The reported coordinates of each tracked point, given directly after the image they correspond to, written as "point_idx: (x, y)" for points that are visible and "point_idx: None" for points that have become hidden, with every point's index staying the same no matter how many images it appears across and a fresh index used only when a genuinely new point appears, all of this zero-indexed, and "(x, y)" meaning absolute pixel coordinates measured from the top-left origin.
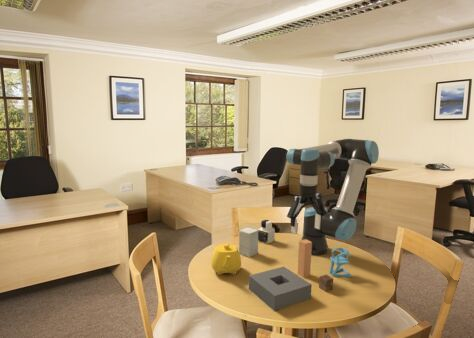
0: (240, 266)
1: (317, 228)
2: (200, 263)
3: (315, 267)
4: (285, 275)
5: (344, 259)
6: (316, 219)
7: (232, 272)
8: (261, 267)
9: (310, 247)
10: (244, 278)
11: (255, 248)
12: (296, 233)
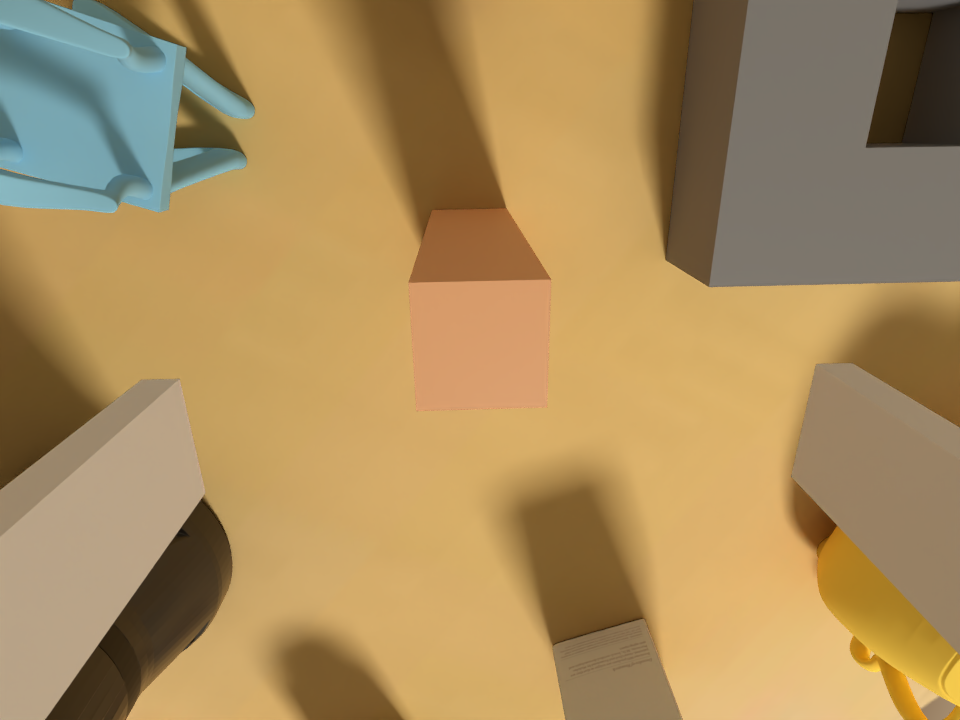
0: None
1: (184, 418)
2: None
3: (297, 302)
4: (835, 121)
5: (25, 78)
6: (74, 609)
7: None
8: (674, 473)
9: (437, 263)
10: None
11: (591, 673)
12: (822, 367)
